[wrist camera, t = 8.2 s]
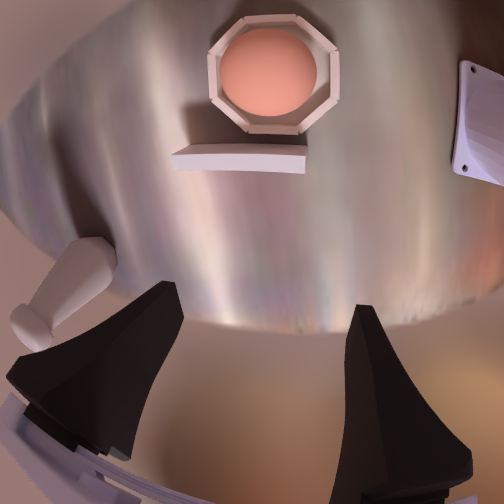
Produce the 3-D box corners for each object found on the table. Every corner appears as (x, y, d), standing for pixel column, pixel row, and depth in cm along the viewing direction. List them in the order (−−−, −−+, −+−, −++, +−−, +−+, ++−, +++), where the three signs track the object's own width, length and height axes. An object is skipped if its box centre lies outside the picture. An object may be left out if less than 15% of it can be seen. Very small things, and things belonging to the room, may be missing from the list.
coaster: (336, 21, 12) (337, 16, 11) (336, 134, 16) (337, 137, 15) (214, 25, 13) (206, 21, 12) (219, 130, 17) (212, 134, 16)
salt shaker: (76, 228, 26) (-8, 305, 15) (112, 226, 24) (17, 319, 14) (94, 272, 29) (25, 353, 18) (131, 276, 27) (58, 372, 17)
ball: (314, 38, 12) (317, 18, 8) (315, 114, 15) (318, 123, 11) (231, 39, 13) (203, 24, 9) (234, 112, 16) (208, 122, 12)
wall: (307, 145, 17) (305, 156, 14) (307, 160, 17) (305, 173, 15) (190, 144, 18) (170, 155, 16) (192, 158, 19) (172, 170, 16)
